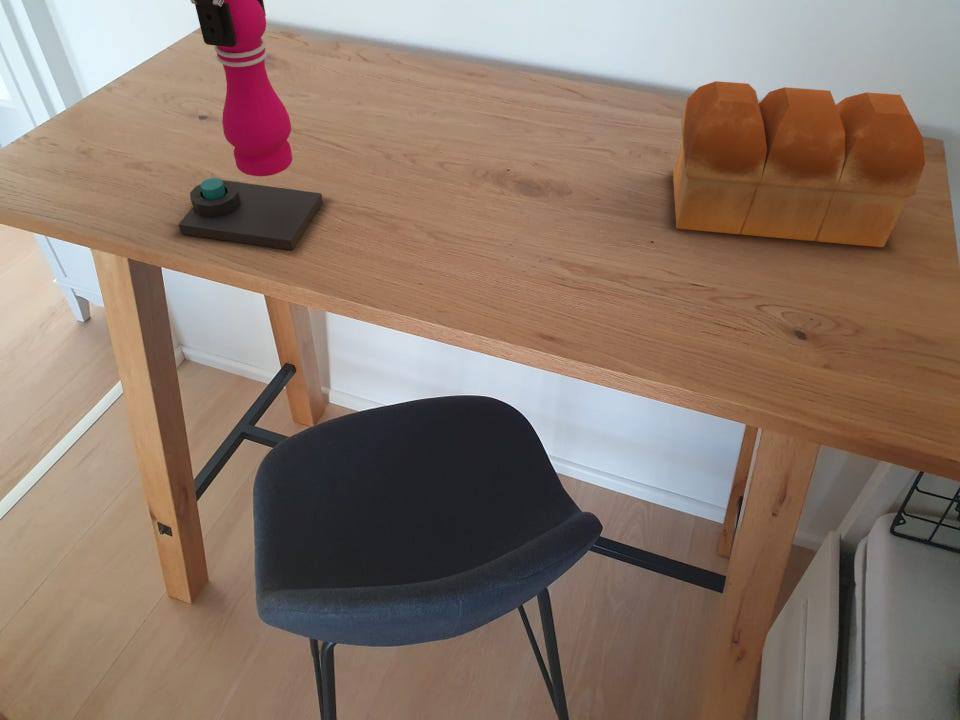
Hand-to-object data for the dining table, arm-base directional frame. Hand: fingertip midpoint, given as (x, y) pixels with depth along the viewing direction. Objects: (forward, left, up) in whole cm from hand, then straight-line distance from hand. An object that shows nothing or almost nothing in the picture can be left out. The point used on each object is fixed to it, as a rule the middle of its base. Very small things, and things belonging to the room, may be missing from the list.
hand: (236, 29), depth 76 cm
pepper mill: (0, 0, -15) cm, 15 cm away
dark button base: (-3, 0, -23) cm, 23 cm away
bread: (+59, +16, -23) cm, 65 cm away
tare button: (-7, 0, -20) cm, 22 cm away
